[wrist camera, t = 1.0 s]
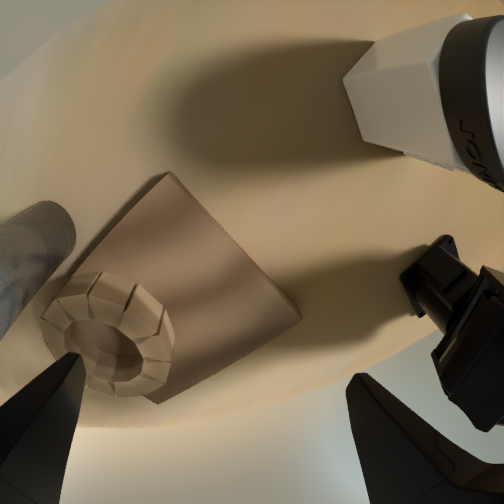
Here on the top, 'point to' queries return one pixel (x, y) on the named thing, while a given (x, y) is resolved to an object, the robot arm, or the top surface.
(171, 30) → the top surface
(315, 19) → the top surface
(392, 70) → the jar
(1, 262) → the chrome metal cylinder
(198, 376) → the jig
